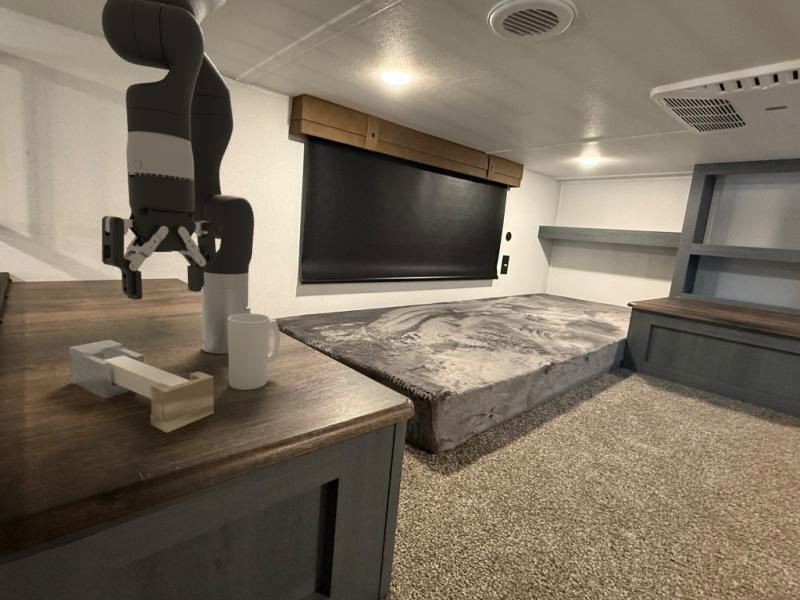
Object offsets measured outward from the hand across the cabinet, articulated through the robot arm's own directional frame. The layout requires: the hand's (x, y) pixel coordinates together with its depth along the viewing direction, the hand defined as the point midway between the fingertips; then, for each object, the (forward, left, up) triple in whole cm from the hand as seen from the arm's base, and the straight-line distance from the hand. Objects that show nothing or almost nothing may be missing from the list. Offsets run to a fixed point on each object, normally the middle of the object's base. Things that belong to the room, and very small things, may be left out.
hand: (166, 294), depth 54 cm
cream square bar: (+3, -4, -15) cm, 16 cm away
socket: (-2, +3, -17) cm, 18 cm away
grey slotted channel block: (+8, -13, -17) cm, 23 cm away
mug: (-14, -7, -18) cm, 23 cm away
